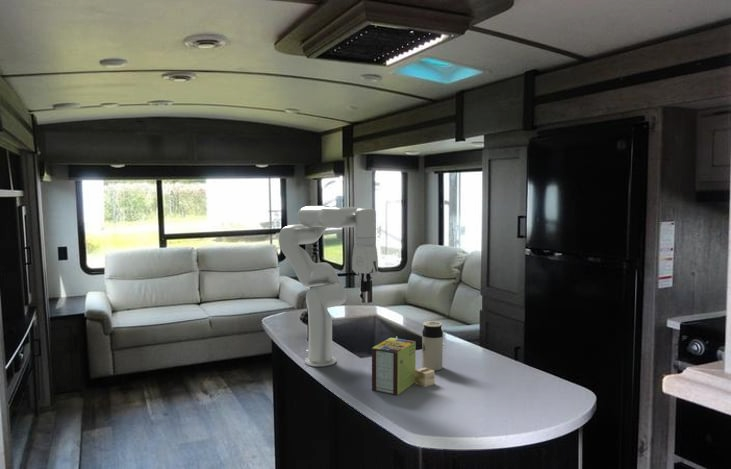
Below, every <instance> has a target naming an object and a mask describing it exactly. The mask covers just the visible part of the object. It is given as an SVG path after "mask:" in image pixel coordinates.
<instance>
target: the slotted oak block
mask: <svg viewBox="0 0 731 469" xmlns="http://www.w3.org/2000/svg"><path fill="white" fill-rule="evenodd" d="M435 372H436V371H434V370H431V369H428V368H425V367H424V368H422V367H421V368H418V369H415V382H414V384H416V385H418V386H421V387H422V388H423V387H424V388H427V387H429V386H433V385H435Z"/></svg>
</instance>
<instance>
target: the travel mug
mask: <svg viewBox="0 0 731 469" xmlns="http://www.w3.org/2000/svg"><path fill="white" fill-rule="evenodd" d="M422 325H423V330H422V331H421V333H422V338H421V340H422V342H421V344H422V346H421V349H422V350H421V352H422V353H421V356H422V357H421V368H424V367H425V368H428V369H431V370H434V371H435V372H436V371H440V370H442V369H443V343H444V342H443V338H444V337H443V336H444V335H443V334H444V333H443V330H442V326H443V323H442V322H440V321H435V320H434V321H433V320H430V321H429V320H428V321H424V322H423V323H422Z"/></svg>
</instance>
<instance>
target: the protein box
mask: <svg viewBox="0 0 731 469" xmlns="http://www.w3.org/2000/svg"><path fill="white" fill-rule="evenodd" d="M416 346H417V344H416V341H415V340H409V339H404V338H398V337H397V338H396V337H389V338H387V339H386V340H384V341H382V342H380V343H378V344H376V345H374V346H373V347H372V348H371V390H372V391H374V390H375V391H374V392H379V393H384V394H388V395H389V394H390V395H395V396H398V395H400V394H401V393H403V392H404V391H405V390H406V389H408V388H409V387H411V385H413V384H415V370H416V349H417V348H416Z"/></svg>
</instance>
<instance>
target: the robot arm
mask: <svg viewBox="0 0 731 469" xmlns="http://www.w3.org/2000/svg"><path fill="white" fill-rule="evenodd" d="M376 213H377V212H376V210H375V209H374V208H372V207H370V208H369V207H368V208H367V207H360V206H343V207H331V206H329V205H307V206H304V207H302V208H300V209H299V210H298V211H297V215H296V217H297V221H298V223H299V224H298V223H297V224H289V225H287V226H284V227H282V229H280V231H279V233H278V244H279V248H280V251H281V252H282V253H283V255H284V256H285V258H286V259H287V260H288V262H289V263H290V265H291V268H292V269H293V271H294V273H295V275H296V277H297V278H298V280H299V282H300V284H301V285H302V286H303V287H305V288H309V289H308V290H307V292H306V293H305V303H306V308H307V314H308V315H307V316H308V319H307V320H308V349H306V350H305V351H304V353H305V354H307V357H305V359H304V364H306V365H307V366H309V367H315V368H317V367H318V368H319V367H320V368H321V367H322V368H324V367H330V366H333V365H334V364H335V363H337V359H336V357H335V356H333V320H332V319H333V318H332V316H331V314H330V312H329V310H328V309H330V308H334V307H338V306H341V305H343V304H345V302H346V301H347V292H346V288H345V286H344V284H343V283H342V281H341V279H340V277H339V276H338V274H337V273H338V272H336V270H335V269H334V267H333V266H332V265H331V264H330V263H328V262H314V261H313V260H312V258H311V256H310V254H309V253H308V252H307V250H305V249H304V248H302V247H301V246H300V245H308V244H314V243H316V242H318V241H319V239H320V238H321V236H322V235H323V234H324V232H325V231H326V229H328V228H330V229H331V228H332V229H341V228H343V229H344V228H355V230H354V231H355V234H354V235H355V236H354V237H355V239H354V241H355V244H354V245H353V249H352V259H351V269H352V271H353V272H354V273H355V275H357V276H358V277H359V281H360V292H363V293H365V292H370V291H371V281H372V279H373V278H374V277H377V272H378V271H379V259H378V251H377V250H378V249H377V242H376V240H377V237H376V235H377V228H376V227H377V214H376Z"/></svg>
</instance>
